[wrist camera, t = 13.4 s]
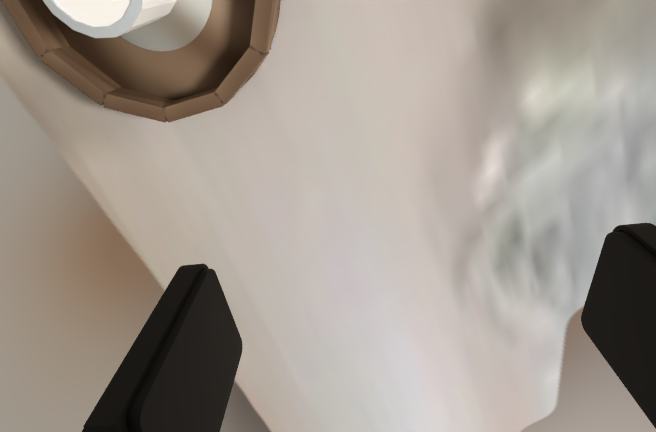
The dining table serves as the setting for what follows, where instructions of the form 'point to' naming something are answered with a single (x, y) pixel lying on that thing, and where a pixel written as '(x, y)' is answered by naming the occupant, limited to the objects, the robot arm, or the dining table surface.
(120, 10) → the white cup
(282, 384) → the dining table surface
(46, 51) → the round wooden tray
